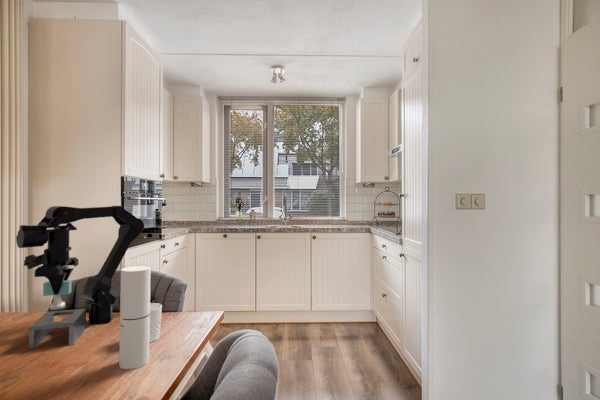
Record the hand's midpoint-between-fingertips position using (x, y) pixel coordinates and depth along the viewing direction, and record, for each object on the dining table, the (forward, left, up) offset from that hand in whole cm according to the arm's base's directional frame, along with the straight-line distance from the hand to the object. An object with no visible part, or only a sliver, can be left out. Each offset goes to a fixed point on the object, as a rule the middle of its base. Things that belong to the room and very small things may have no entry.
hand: (57, 293), depth 109 cm
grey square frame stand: (-2, +5, -13) cm, 14 cm away
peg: (0, 0, -5) cm, 5 cm away
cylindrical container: (-26, +30, -13) cm, 42 cm away
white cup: (-28, +14, -13) cm, 34 cm away
